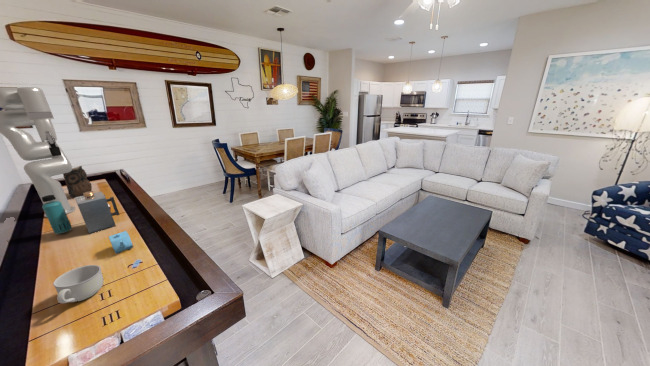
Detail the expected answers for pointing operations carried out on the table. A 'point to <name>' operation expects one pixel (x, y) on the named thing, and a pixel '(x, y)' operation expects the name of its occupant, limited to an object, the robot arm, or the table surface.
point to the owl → (77, 182)
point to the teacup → (78, 283)
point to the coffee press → (97, 212)
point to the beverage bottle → (56, 215)
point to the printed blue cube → (121, 242)
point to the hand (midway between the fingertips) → (57, 155)
